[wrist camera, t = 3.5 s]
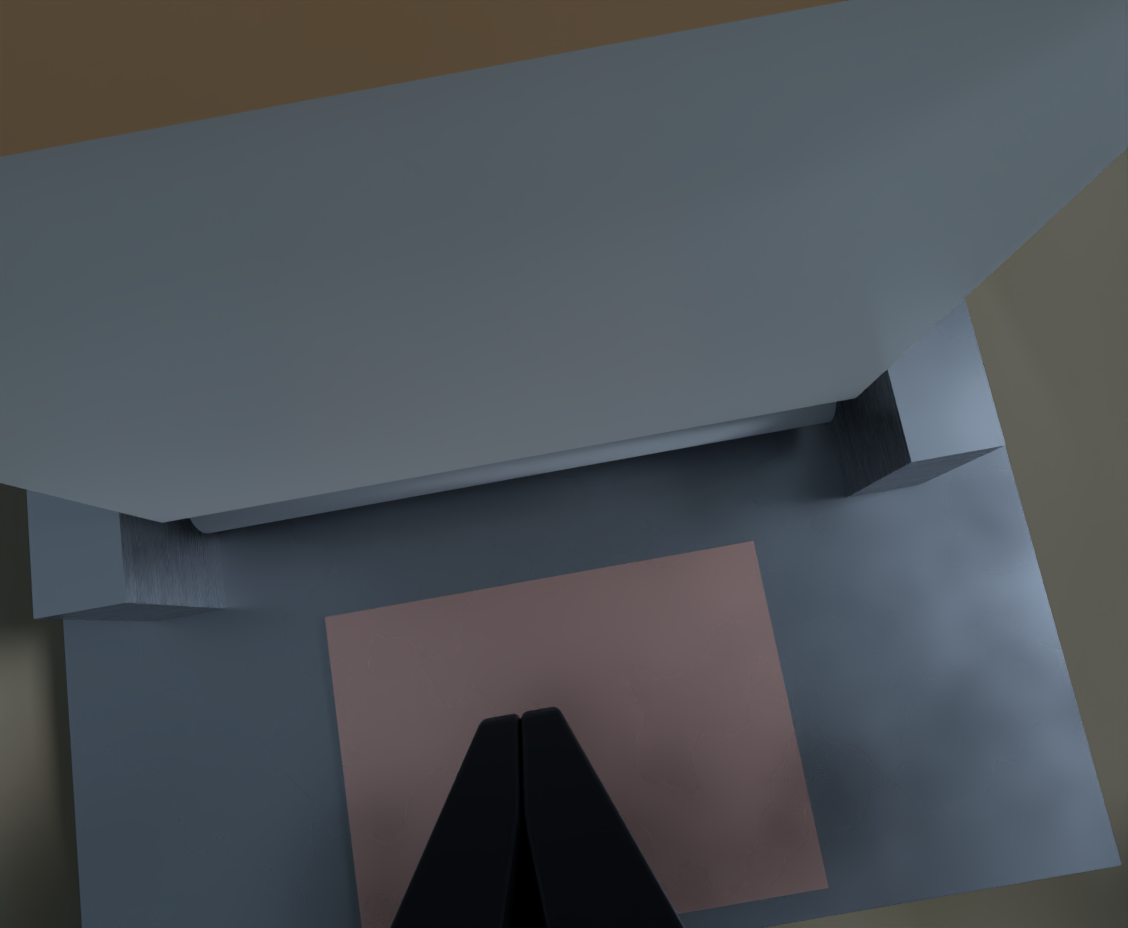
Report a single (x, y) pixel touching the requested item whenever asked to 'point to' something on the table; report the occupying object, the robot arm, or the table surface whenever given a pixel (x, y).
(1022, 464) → the table surface
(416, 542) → the blue-grey base plate
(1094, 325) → the table surface
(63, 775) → the table surface
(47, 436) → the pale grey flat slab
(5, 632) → the table surface
